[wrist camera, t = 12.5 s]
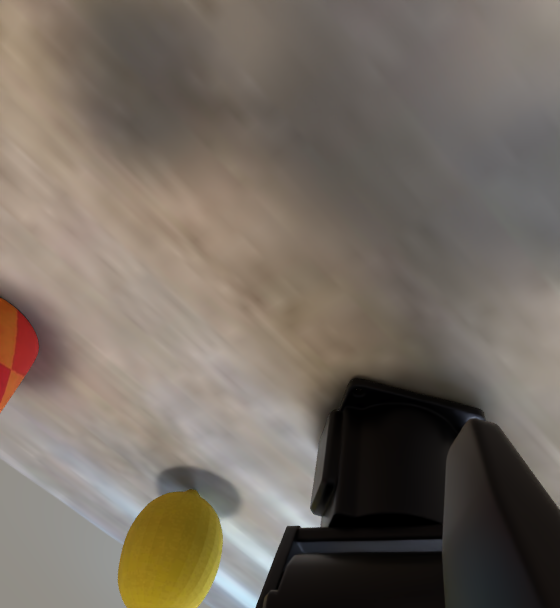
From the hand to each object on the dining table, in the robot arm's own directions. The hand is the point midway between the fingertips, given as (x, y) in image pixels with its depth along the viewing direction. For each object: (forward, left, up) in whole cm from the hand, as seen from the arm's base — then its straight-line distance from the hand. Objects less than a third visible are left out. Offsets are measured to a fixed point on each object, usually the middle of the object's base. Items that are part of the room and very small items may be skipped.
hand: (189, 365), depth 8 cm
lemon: (+2, +24, -12) cm, 27 cm away
